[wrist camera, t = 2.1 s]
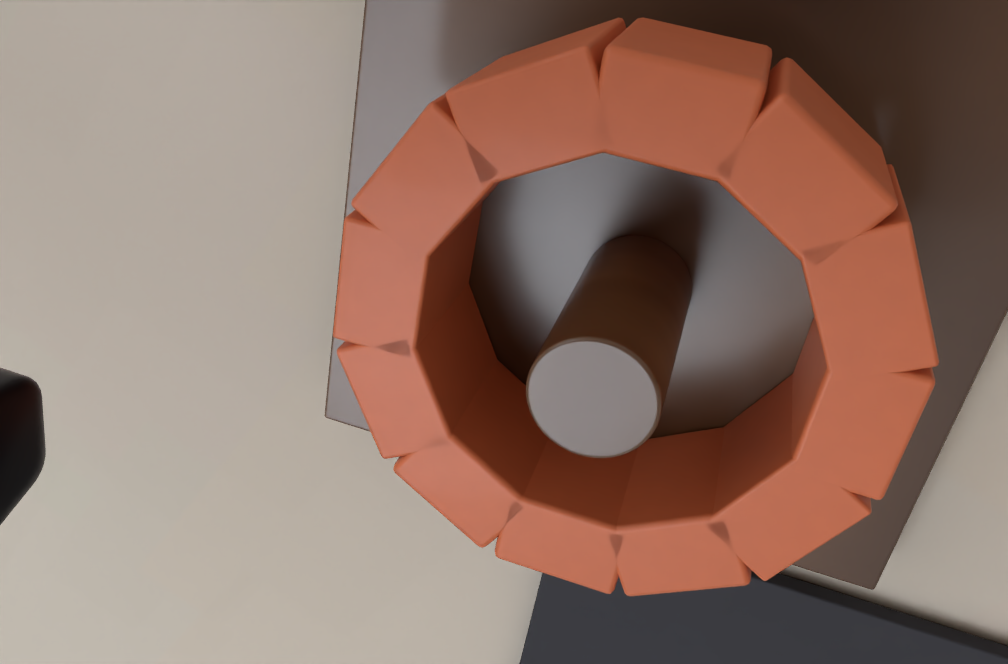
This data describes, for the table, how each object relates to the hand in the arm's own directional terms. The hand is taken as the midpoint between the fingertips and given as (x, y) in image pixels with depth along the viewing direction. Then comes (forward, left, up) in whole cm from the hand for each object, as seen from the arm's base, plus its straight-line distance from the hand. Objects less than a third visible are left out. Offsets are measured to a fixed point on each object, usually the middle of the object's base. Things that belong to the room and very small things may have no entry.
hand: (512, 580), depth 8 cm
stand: (0, 0, -10) cm, 10 cm away
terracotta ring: (0, 0, -7) cm, 7 cm away
